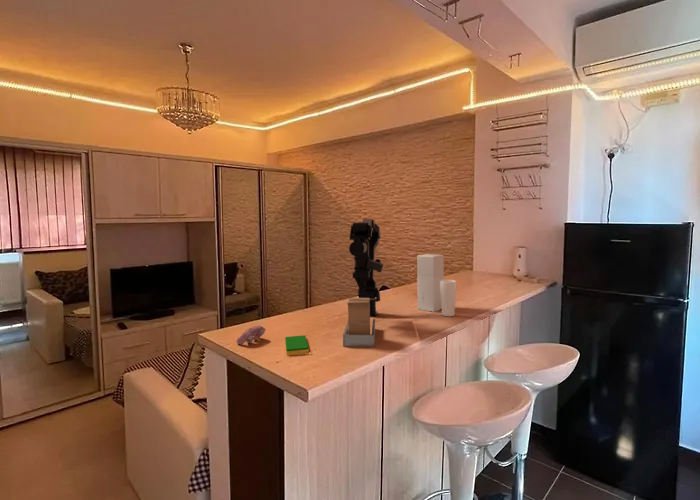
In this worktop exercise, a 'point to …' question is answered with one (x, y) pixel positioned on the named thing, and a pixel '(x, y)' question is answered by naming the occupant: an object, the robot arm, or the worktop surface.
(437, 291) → the tall white carton
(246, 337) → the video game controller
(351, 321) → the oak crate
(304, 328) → the worktop surface
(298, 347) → the dish sponge
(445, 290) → the drinking glass
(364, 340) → the metal bay
